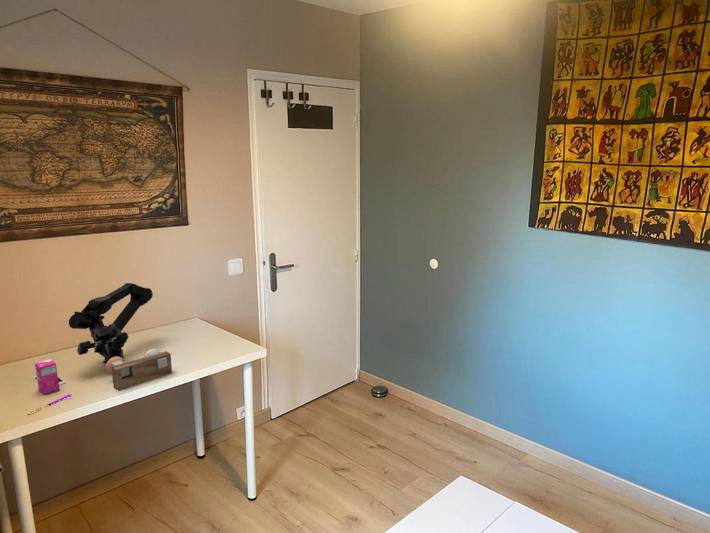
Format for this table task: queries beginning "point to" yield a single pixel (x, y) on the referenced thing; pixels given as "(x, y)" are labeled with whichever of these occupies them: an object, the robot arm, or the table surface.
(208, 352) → the table surface
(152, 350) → the grey plunger
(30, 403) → the table surface
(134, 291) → the robot arm
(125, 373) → the terracotta plunger
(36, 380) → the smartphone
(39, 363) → the supplement box
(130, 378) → the panel
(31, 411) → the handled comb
